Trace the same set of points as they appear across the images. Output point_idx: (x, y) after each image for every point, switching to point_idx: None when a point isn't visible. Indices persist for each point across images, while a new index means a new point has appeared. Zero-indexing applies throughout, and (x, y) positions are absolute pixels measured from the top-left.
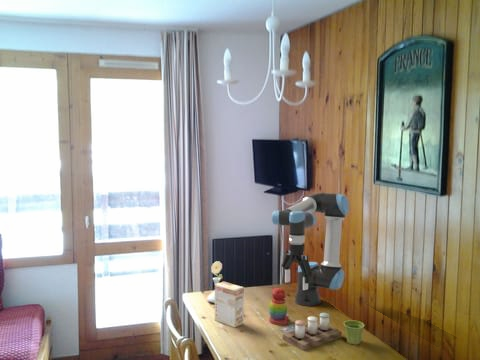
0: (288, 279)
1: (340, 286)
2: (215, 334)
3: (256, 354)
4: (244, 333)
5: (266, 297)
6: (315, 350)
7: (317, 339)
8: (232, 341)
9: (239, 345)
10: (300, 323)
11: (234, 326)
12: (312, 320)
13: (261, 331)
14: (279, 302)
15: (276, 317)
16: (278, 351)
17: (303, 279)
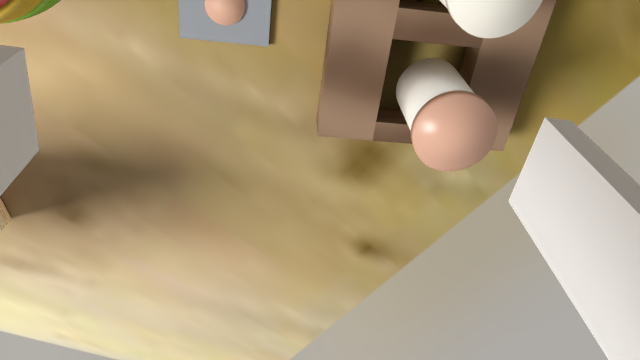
0: (4, 118)
1: None
2: (50, 320)
3: (344, 305)
4: (114, 222)
5: None
6: (548, 83)
7: (539, 23)
8: (168, 307)
9: (224, 307)
10: (472, 154)
11: (6, 222)
12: (517, 27)
13: (143, 138)
14: None
15: None
16: (397, 227)
17: (618, 347)
